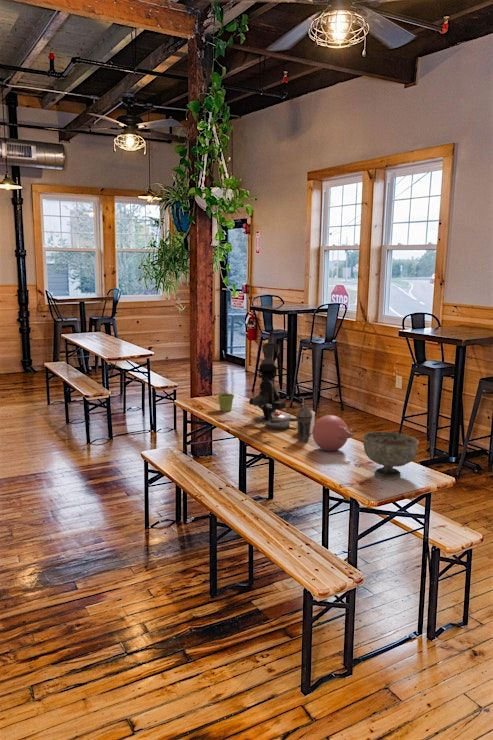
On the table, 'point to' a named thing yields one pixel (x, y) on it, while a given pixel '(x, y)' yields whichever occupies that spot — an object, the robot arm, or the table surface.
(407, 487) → the table surface
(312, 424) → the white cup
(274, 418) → the lid
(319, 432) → the balloon
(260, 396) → the robot arm
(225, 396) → the plant pot
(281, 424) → the pot
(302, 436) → the beverage cup
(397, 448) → the bowl
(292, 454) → the table surface
